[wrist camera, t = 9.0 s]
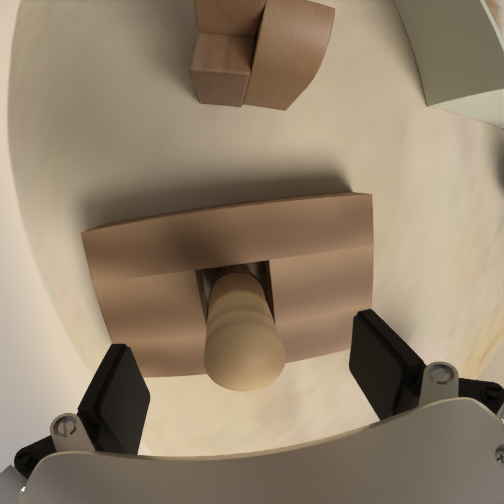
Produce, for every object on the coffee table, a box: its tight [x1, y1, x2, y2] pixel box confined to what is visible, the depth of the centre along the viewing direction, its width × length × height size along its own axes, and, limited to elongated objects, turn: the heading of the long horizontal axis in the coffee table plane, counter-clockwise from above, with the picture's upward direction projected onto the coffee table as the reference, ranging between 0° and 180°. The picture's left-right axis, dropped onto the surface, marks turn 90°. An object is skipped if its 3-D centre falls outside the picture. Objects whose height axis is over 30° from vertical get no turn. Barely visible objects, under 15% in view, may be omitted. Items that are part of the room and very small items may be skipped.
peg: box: [204, 265, 286, 391], centre depth 16 cm, size 4×4×10 cm
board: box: [81, 192, 373, 377], centre depth 19 cm, size 12×20×3 cm, turn 97°
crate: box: [394, 0, 504, 129], centre depth 11 cm, size 27×21×11 cm
